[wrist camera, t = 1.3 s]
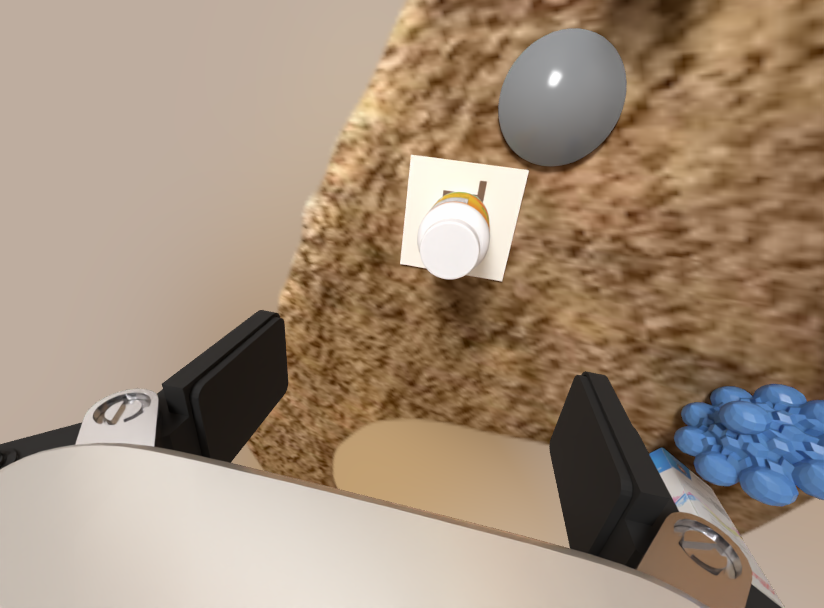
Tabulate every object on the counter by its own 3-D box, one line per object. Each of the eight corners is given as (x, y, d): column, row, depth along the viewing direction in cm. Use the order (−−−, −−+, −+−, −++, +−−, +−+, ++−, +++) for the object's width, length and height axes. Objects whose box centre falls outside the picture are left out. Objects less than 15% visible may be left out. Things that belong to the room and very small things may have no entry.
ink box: (621, 465, 40) (669, 581, 30) (661, 444, 38) (728, 561, 28) (671, 506, 41) (734, 631, 31) (712, 488, 39) (796, 616, 29)
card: (411, 154, 30) (411, 154, 30) (528, 170, 29) (529, 170, 29) (400, 263, 35) (400, 264, 35) (501, 280, 34) (501, 281, 33)
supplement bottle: (490, 247, 32) (492, 287, 24) (432, 252, 33) (414, 291, 25) (487, 187, 30) (489, 206, 21) (426, 194, 31) (403, 215, 23)
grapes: (762, 328, 31) (907, 427, 20) (799, 379, 32) (954, 497, 22) (635, 390, 36) (699, 497, 25) (671, 432, 37) (747, 550, 27)
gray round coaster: (513, 25, 25) (513, 23, 25) (644, 36, 24) (647, 34, 24) (487, 158, 29) (487, 158, 29) (599, 172, 28) (601, 173, 28)
